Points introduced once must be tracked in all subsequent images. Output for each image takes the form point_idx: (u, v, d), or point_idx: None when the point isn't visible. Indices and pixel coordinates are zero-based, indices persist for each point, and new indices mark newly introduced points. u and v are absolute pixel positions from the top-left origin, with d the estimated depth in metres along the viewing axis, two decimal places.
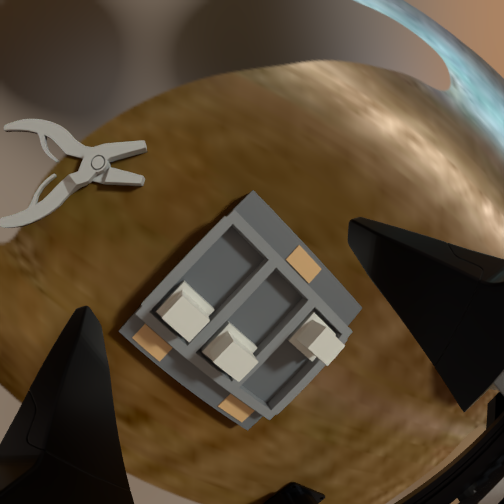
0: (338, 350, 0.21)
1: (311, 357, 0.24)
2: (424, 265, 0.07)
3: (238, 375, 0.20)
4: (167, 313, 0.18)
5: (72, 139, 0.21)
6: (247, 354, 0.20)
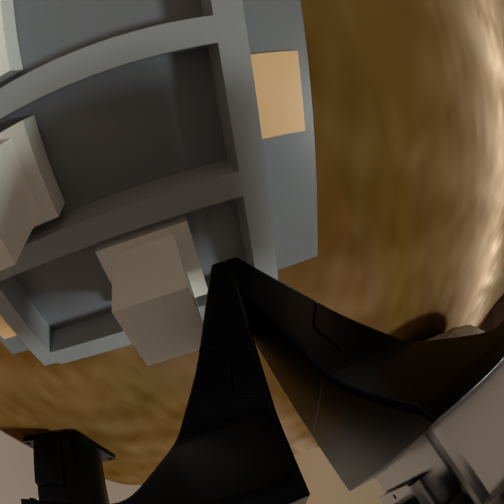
0: (189, 348, 0.08)
1: None
2: (274, 332, 0.06)
3: None
4: None
5: None
6: None
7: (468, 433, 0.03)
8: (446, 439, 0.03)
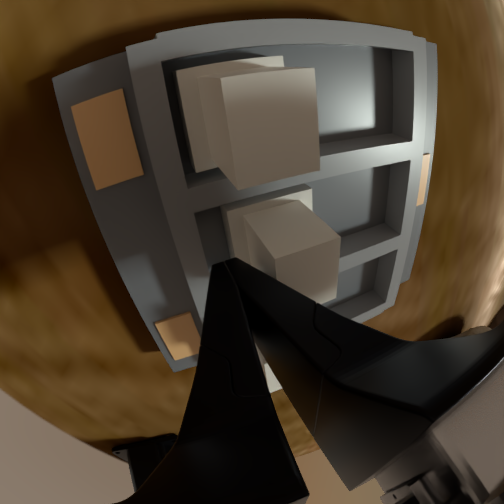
0: None
1: None
2: (274, 332, 0.06)
3: None
4: (245, 78, 0.05)
5: None
6: (336, 275, 0.09)
7: (468, 433, 0.03)
8: (446, 439, 0.03)
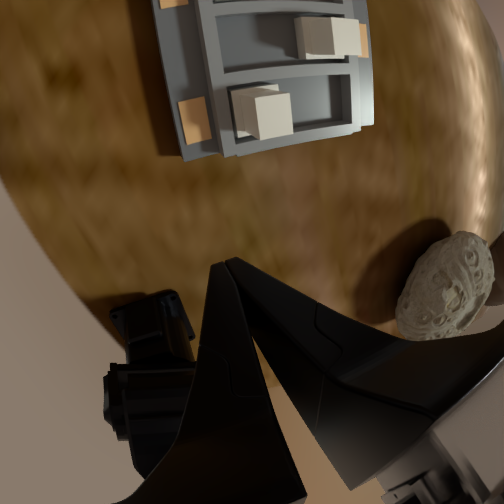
0: (283, 132, 0.16)
1: (240, 131, 0.17)
2: (275, 332, 0.06)
3: (339, 48, 0.14)
4: None
5: None
6: (359, 40, 0.14)
7: (469, 432, 0.03)
8: (447, 438, 0.03)
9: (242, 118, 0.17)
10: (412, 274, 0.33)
